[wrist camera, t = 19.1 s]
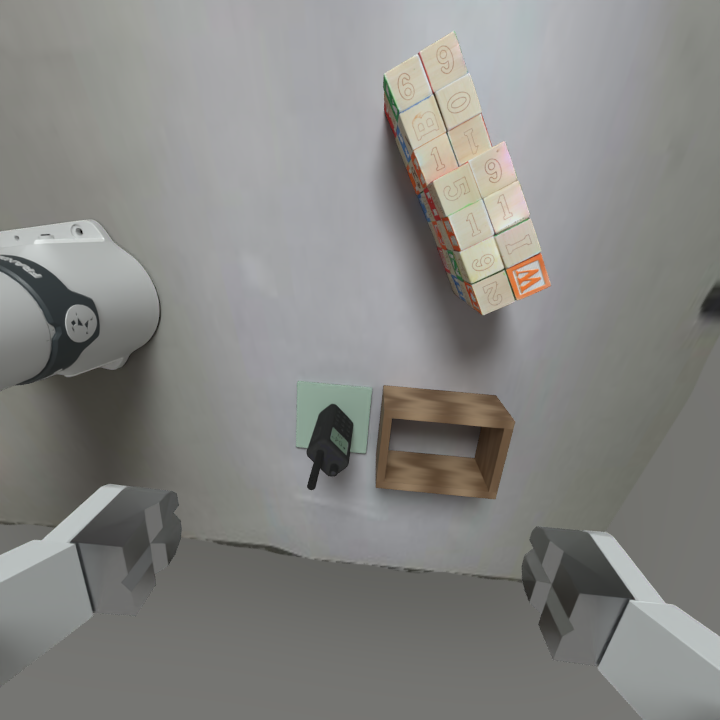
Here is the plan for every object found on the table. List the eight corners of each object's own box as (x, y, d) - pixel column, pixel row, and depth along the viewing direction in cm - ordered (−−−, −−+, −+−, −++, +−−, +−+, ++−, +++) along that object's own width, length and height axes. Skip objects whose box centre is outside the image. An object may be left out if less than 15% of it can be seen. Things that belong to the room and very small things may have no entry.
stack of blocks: (381, 110, 37) (383, 53, 25) (437, 77, 36) (466, 2, 24) (454, 295, 43) (483, 317, 31) (505, 272, 42) (553, 287, 30)
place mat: (297, 444, 51) (296, 446, 50) (298, 381, 48) (297, 382, 47) (365, 451, 51) (365, 453, 50) (371, 387, 47) (371, 389, 47)
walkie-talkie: (355, 424, 49) (346, 501, 35) (337, 437, 50) (321, 518, 35) (332, 399, 48) (313, 469, 34) (314, 414, 48) (288, 487, 34)
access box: (375, 454, 51) (375, 487, 44) (383, 385, 47) (384, 409, 41) (480, 464, 51) (495, 499, 44) (495, 395, 47) (515, 421, 40)
